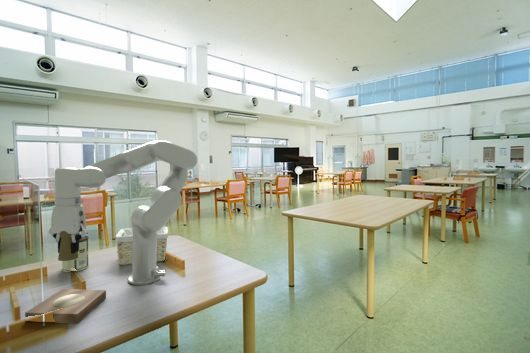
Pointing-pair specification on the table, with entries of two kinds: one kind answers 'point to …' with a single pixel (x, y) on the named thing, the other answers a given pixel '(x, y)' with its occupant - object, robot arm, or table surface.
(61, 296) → the base
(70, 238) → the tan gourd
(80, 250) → the coffee can
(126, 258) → the storage basket
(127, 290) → the table surface
